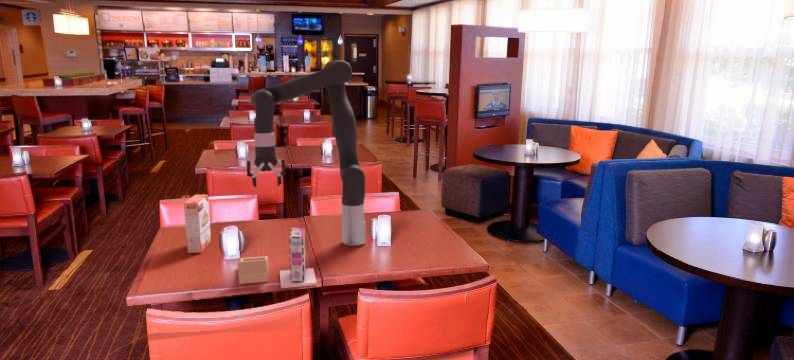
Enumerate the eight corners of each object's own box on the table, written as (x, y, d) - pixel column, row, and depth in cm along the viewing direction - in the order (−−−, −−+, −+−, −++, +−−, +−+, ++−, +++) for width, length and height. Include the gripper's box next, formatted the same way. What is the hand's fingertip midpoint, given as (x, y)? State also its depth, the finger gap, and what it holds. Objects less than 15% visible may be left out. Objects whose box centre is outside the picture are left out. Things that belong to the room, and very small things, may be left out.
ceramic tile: (313, 270, 196) (313, 268, 195) (316, 285, 183) (316, 282, 183) (279, 273, 193) (279, 270, 193) (280, 288, 181) (280, 285, 180)
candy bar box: (305, 282, 183) (303, 236, 179) (290, 283, 182) (288, 237, 179) (306, 269, 194) (304, 226, 190) (292, 270, 193) (290, 227, 189)
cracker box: (202, 253, 212) (198, 202, 207) (187, 254, 211) (182, 203, 207) (212, 241, 225) (208, 193, 221) (197, 242, 225) (193, 193, 220)
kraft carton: (267, 261, 204) (266, 241, 202) (268, 281, 186) (266, 259, 184) (241, 263, 202) (240, 243, 200) (239, 284, 184) (237, 262, 182)
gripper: (284, 142, 205) (285, 183, 209) (245, 143, 202) (248, 185, 205) (284, 145, 198) (286, 187, 201) (244, 146, 195) (247, 189, 198)
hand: (267, 186), depth 203 cm, fingers open, 8 cm apart
